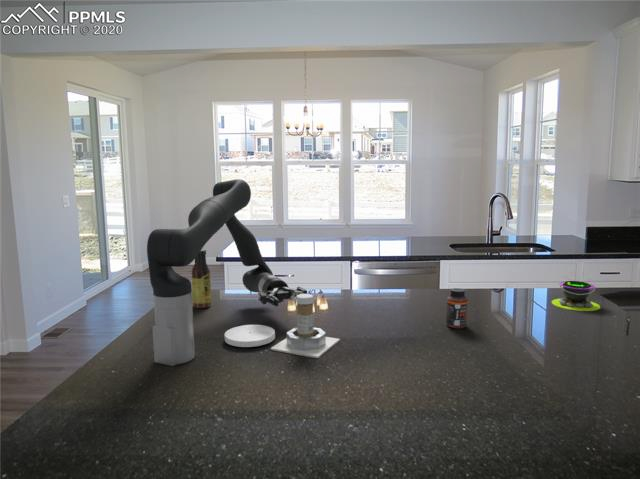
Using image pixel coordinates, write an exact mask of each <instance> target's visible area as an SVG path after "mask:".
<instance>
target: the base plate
mask: <svg viewBox="0 0 640 479" xmlns="http://www.w3.org/2000/svg"><path fill="white" fill-rule="evenodd" d="M340 341H341V338H337V337H331V336H330V337H329V336H326V344H324V345H323V346H322V347H321V348H319V349H313V350H306V351H303V350H298V349H292V348H290V347H289V345H288V344H287V337H285V338H284V339H283V340H281V341H279V342H278V343H276V344H275V345H273V346H272V347H270V350H271V351H275V352H280V353H285V354H286V353H287V354H292V355H297V356H303V357H307V358H314V359H320V358H321V357H322V356H323V355H325V353H327V352H328V351H329V350H331V348H333V347H334V346H335V345H337V344H338V343H339V342H340Z"/></svg>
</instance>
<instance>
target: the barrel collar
mask: <svg viewBox="0 0 640 479" xmlns="http://www.w3.org/2000/svg"><path fill="white" fill-rule="evenodd" d="M326 334H327V333H326V331H324V330H323V329H322V328H321V327H314V326H313V337H306V338H304V337H298V332H297V327H293V328H292V329H290V330H288V331H287V332H286V338H287V344H288V345H289V347H290V348H292V349H298V350H303V351H306V350H313V349H319V348H321V347H322V346H323V345H324V344H326V337H327V336H326Z"/></svg>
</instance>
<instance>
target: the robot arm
mask: <svg viewBox="0 0 640 479" xmlns="http://www.w3.org/2000/svg"><path fill="white" fill-rule="evenodd" d="M251 196H252V190H251V187H250V185H249V184H248V182H247V181H245V180H243V179H240V178H239V179H238V178H237V179H236V178H235V179H231V180H225V181H220V182H217V183H215V184H214V186H213V188H212V196H211V197H209V198H207V199H203V200H202V201H201V202H199V203H198V204H197V205H196V206H194V207H193V208H192V209H191V211H190V212H189V215H188V216H187V217H188V218H187V221H188V227H187V228H180V229H179V228H156V229H154V230H152V231H151V232H150V234H149V236H148V238H147V243H146V256H147V263H148V271H149V282H150V285H151V287H152V293H153V308H154V309H153V310H154V311H153V312H154V325H152V343H153V357H154V362H153V363H157V364H161V365H165V366H171V367H174V366H176V365H181V364H185V363H188V362H191V361H192V360H193V359H194V358H195V356H196V353H195V352H196V351H195V350H196V349H195V332H194V330H195V329H194V315H193V314H194V311H193V298H192V281H191V280H190V279H188V278H187V277H184V276H183V275H180V274H179V273H177V271H175V269H174V268H173V267H180V268H181V267H182V268H183V267H186V266H189V265H191V264H192V262H194V261H195V258H196V256H197V255H198V254H199V252H200V251H201V249H203V248H204V247H205V245H206V244H207V243H208V242H209V240H210V239H212V237H213V236H214V235H215V234H216V233H217V232H218V231H220V230H221V229H222V227H223V226H225V225H226V227H227V229H228V231H229V233H230V235H231V237H232V239H233V241H234V244H235V246H236V249H237V252H238V255H239V258H240V261H241V263H242V265H243V266H245V267H253V266H256V267H254V268H252V269H250V270H248V271H246V272H244V274H243V275H242V285H243V286H244V288H246V290H248V291H249V292H251V293H258V294H257V295H258V296H257V298H258V301H259V302H260V303H261V304H262V305H267V303H268V304H269V305H272V306H274V307H279V304H281V303H282V302H284V301H293V302H294V301H296V297H297V295H299V294H308V290H307V289H306V288H304V287H301V286H296V288H291V287H289V286H288V283H287V282H285V281H284V280H282V279H281V278H279V277H278V276H275V275H274V274H273V271H272V270H271V268H270V267H269V266H268V264H267V263H266V261H265V260H264V257H263V255H262V253H261V251H260V248H259V244H258V241H257V238H256V236H254V234H253V233H252V232H251V230H249V229H248V228H247V227H246V226H245V225H244V224H243V223H242V222H241V221H240V220H239V219H238V218H237V215H235V214H236V213H238V212H239V211H241V210H242V209H244V208H246V207H247V206H248V205H249V203H250V201H251Z"/></svg>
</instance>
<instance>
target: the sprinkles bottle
mask: <svg viewBox="0 0 640 479" xmlns="http://www.w3.org/2000/svg"><path fill="white" fill-rule="evenodd" d="M295 302H296V306H297V307H296V326H297V327H296V328H297V332H298V337H304V338H306V337H313V327H314V306H313V305H314V295H313V294H310V293H307V294H299V295H297V297H296V300H295Z"/></svg>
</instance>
